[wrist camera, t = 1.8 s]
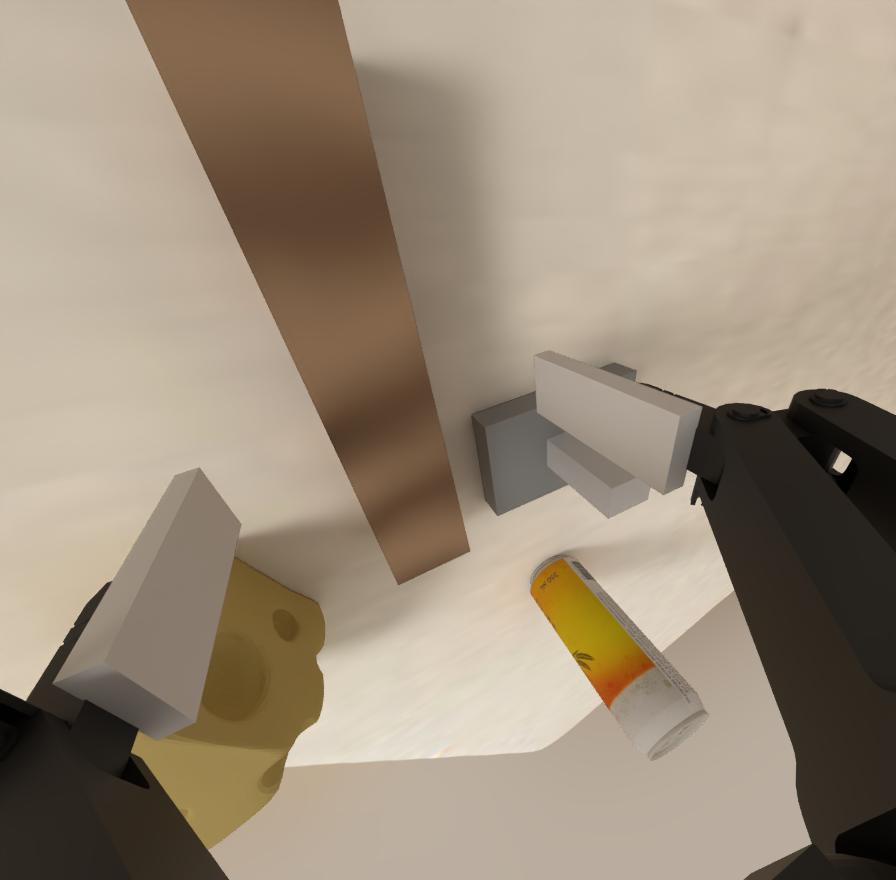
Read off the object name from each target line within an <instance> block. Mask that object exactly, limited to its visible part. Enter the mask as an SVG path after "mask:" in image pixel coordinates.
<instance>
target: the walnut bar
mask: <svg viewBox="0 0 896 880" xmlns="http://www.w3.org/2000/svg"><path fill="white" fill-rule="evenodd" d="M126 2H127V5H128V7H129V9H130V11H131V13H132V15H133V17H134V20H135V22H136V24H137V26H138V28H139V30H140V32H141V35H142V37H143V39H144V41H145V43H146V45H147V47H148V50H149V52H150V54H151V56H152V58H153V60H154V62H155V65H156V67H157V69H158V71H159V73H160V75H161V77H162V80H163V82H164V84H165V86H166V88H167V90H168V92H169V95H170V97H171V99H172V101H173V103H174V105H175V107H176V110H177V112H178V114H179V116H180V118H181V120H182V122H183V125H184V127H185V129H186V131H187V133H188V135H189V138H190V140H191V142H192V144H193V146H194V148H195V150H196V153H197V155H198V157H199V159H200V161H201V163H202V165H203V168H204V170H205V172H206V174H207V176H208V178H209V180H210V183H211V185H212V187H213V189H214V191H215V193H216V195H217V198H218V200H219V202H220V204H221V206H222V208H223V210H224V213H225V215H226V217H227V219H228V221H229V223H230V225H231V228H232V230H233V232H234V234H235V236H236V238H237V240H238V243H239V245H240V247H241V249H242V251H243V253H244V255H245V258H246V260H247V262H248V264H249V266H250V268H251V270H252V273H253V275H254V277H255V279H256V281H257V283H258V285H259V288H260V290H261V292H262V294H263V296H264V298H265V300H266V303H267V305H268V307H269V309H270V311H271V313H272V315H273V318H274V320H275V322H276V324H277V326H278V328H279V330H280V333H281V335H282V337H283V339H284V341H285V343H286V345H287V348H288V350H289V352H290V354H291V356H292V358H293V360H294V363H295V365H296V367H297V369H298V371H299V373H300V375H301V378H302V380H303V382H304V384H305V386H306V388H307V390H308V393H309V395H310V397H311V399H312V401H313V403H314V405H315V408H316V410H317V412H318V414H319V416H320V418H321V420H322V423H323V425H324V427H325V429H326V431H327V433H328V436H329V438H330V440H331V442H332V444H333V446H334V448H335V451H336V453H337V455H338V457H339V459H340V461H341V463H342V466H343V468H344V470H345V472H346V474H347V476H348V478H349V481H350V483H351V485H352V487H353V489H354V491H355V493H356V496H357V498H358V500H359V502H360V504H361V506H362V508H363V511H364V513H365V515H366V517H367V519H368V521H369V523H370V526H371V528H372V530H373V532H374V534H375V536H376V538H377V541H378V543H379V545H380V547H381V549H382V551H383V553H384V556H385V558H386V560H387V562H388V564H389V566H390V568H391V571H392V573H393V575H394V577H395V579H396V581H397V583H398V585H400V584H402V583H404V582H406V581H408V580H410V579H413V578H415V577H417V576H419V575H421V574H423V573H425V572H427V571H430V570H432V569H434V568H436V567H438V566H440V565H442V564H444V563H447V562H449V561H451V560H453V559H455V558H457V557H459V556H461V555H464V554H466V553H468V552H470V548H469V544H468V540H467V535H466V531H465V527H464V523H463V519H462V515H461V510H460V506H459V502H458V498H457V494H456V490H455V485H454V481H453V477H452V473H451V469H450V465H449V460H448V456H447V452H446V448H445V444H444V440H443V435H442V431H441V427H440V423H439V419H438V415H437V410H436V406H435V402H434V398H433V394H432V390H431V385H430V381H429V377H428V373H427V369H426V365H425V360H424V356H423V352H422V348H421V344H420V340H419V335H418V331H417V327H416V323H415V319H414V315H413V311H412V306H411V302H410V298H409V294H408V290H407V286H406V281H405V277H404V273H403V269H402V265H401V261H400V256H399V252H398V248H397V244H396V240H395V236H394V231H393V227H392V223H391V219H390V215H389V211H388V206H387V202H386V198H385V194H384V190H383V186H382V181H381V177H380V173H379V169H378V165H377V161H376V156H375V152H374V148H373V144H372V140H371V136H370V131H369V127H368V123H367V119H366V115H365V111H364V106H363V102H362V98H361V94H360V90H359V86H358V81H357V77H356V73H355V69H354V65H353V61H352V56H351V52H350V48H349V44H348V40H347V36H346V32H345V27H344V23H343V19H342V15H341V11H340V7H339V2H338V0H126Z"/></svg>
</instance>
